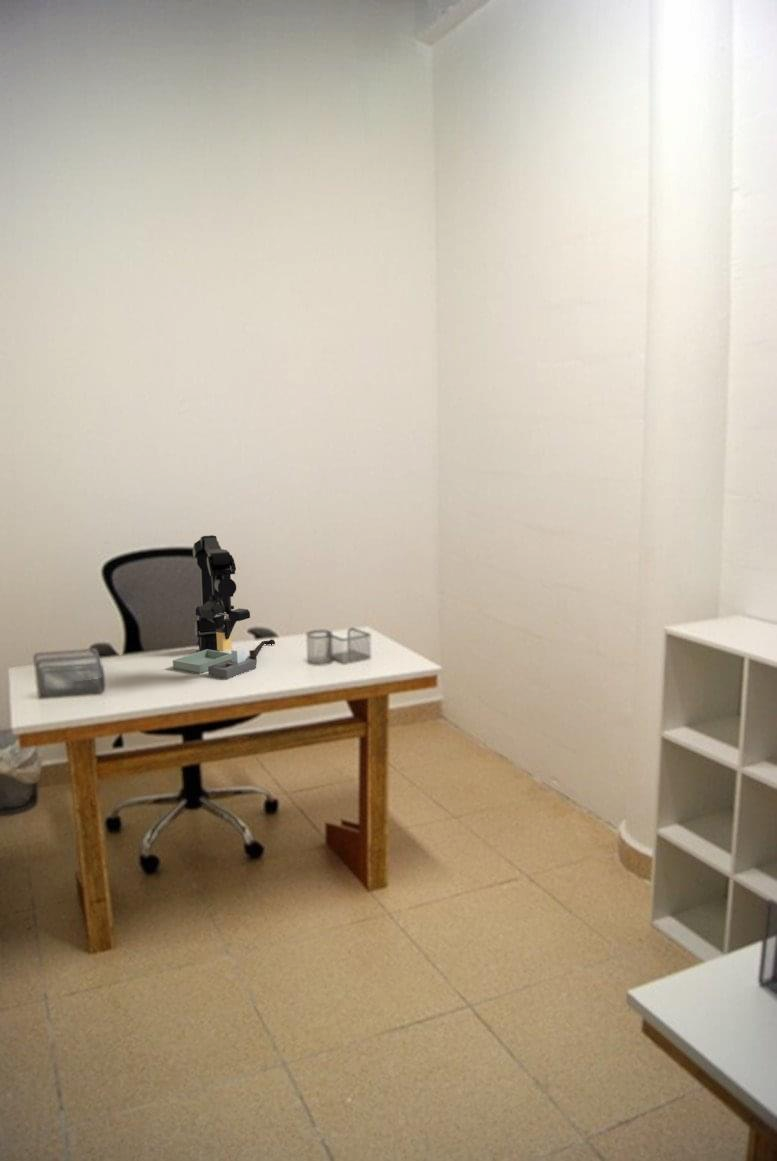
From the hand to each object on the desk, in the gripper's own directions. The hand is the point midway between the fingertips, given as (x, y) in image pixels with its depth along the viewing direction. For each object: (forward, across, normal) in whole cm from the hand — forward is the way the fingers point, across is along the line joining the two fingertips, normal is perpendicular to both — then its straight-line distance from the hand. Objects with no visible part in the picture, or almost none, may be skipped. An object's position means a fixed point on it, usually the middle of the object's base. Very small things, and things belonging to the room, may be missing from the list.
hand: (223, 638), depth 286 cm
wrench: (+13, -5, +24) cm, 28 cm away
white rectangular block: (+12, 0, +7) cm, 14 cm away
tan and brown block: (+4, 0, 0) cm, 4 cm away
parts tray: (+12, -14, +4) cm, 19 cm away
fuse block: (+12, 0, +3) cm, 13 cm away
